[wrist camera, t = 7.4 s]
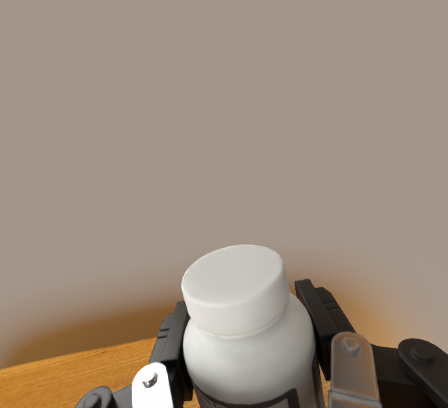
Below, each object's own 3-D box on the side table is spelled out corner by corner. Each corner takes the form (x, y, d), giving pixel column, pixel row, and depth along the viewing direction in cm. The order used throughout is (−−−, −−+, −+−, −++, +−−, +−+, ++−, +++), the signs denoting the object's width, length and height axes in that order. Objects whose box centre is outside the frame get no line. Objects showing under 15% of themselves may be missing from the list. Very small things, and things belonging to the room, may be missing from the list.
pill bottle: (260, 369, 16) (229, 230, 13) (350, 428, 12) (331, 247, 9) (197, 454, 12) (136, 287, 10) (295, 575, 8) (239, 353, 6)
